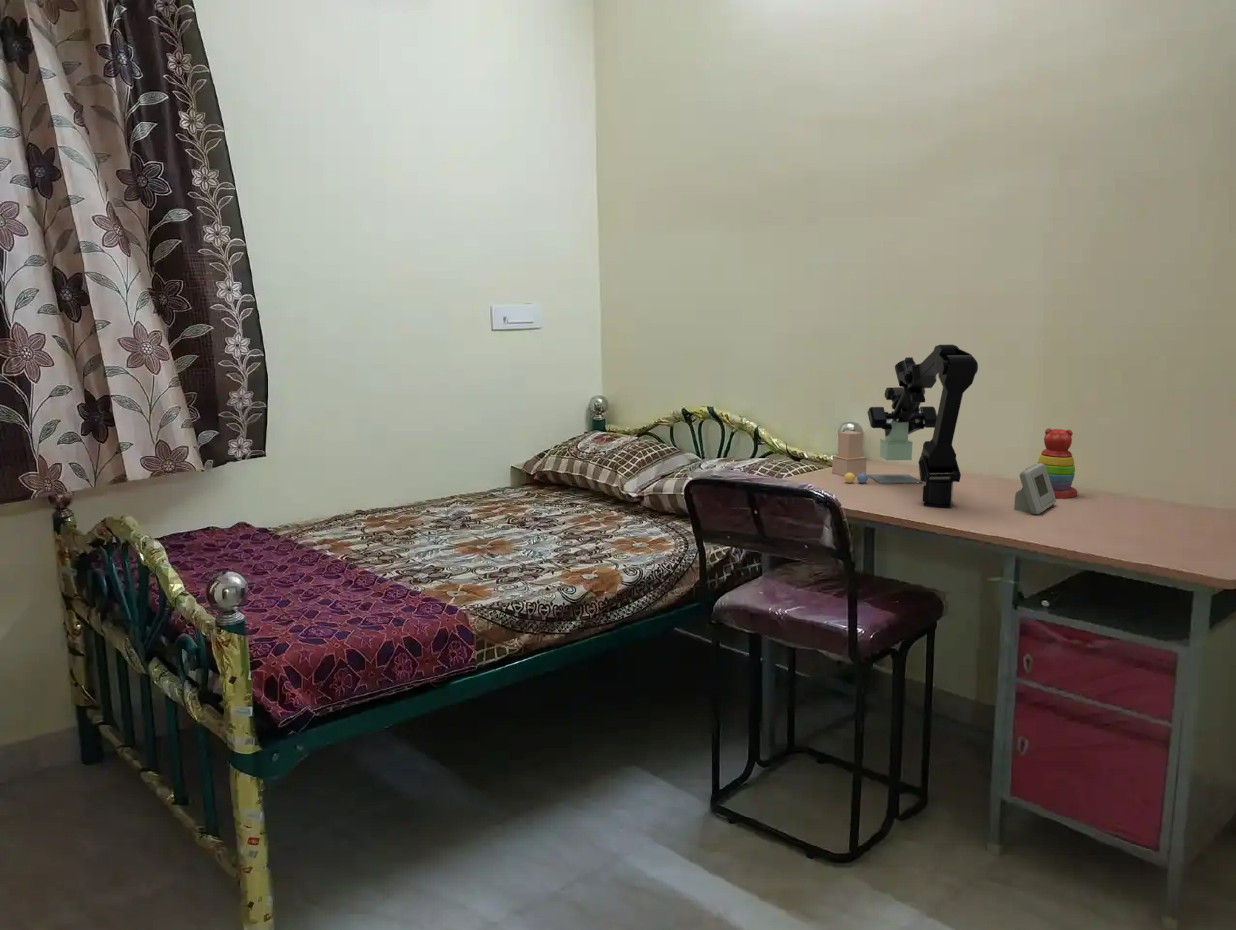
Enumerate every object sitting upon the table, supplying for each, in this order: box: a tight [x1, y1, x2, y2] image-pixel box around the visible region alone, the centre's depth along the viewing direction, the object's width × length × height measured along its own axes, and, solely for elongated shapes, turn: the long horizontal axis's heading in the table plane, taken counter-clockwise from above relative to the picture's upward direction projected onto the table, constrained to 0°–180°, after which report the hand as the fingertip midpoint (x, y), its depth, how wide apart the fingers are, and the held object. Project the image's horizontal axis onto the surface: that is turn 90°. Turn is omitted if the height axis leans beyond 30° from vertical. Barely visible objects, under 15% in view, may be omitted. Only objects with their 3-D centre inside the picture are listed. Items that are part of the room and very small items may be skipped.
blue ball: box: [856, 473, 869, 484], centre depth 265 cm, size 3×3×3 cm
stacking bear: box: [1036, 428, 1078, 499], centre depth 247 cm, size 11×10×18 cm
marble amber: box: [843, 473, 856, 484], centre depth 265 cm, size 3×3×3 cm
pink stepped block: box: [831, 430, 868, 477], centre depth 279 cm, size 7×7×12 cm
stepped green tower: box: [879, 422, 913, 461], centre depth 268 cm, size 7×7×12 cm
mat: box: [867, 473, 923, 485], centre depth 270 cm, size 12×12×1 cm
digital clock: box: [1013, 462, 1057, 515], centre depth 231 cm, size 16×9×11 cm, turn 131°
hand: (894, 435), depth 269 cm, fingers closed on stepped green tower, 5 cm apart
